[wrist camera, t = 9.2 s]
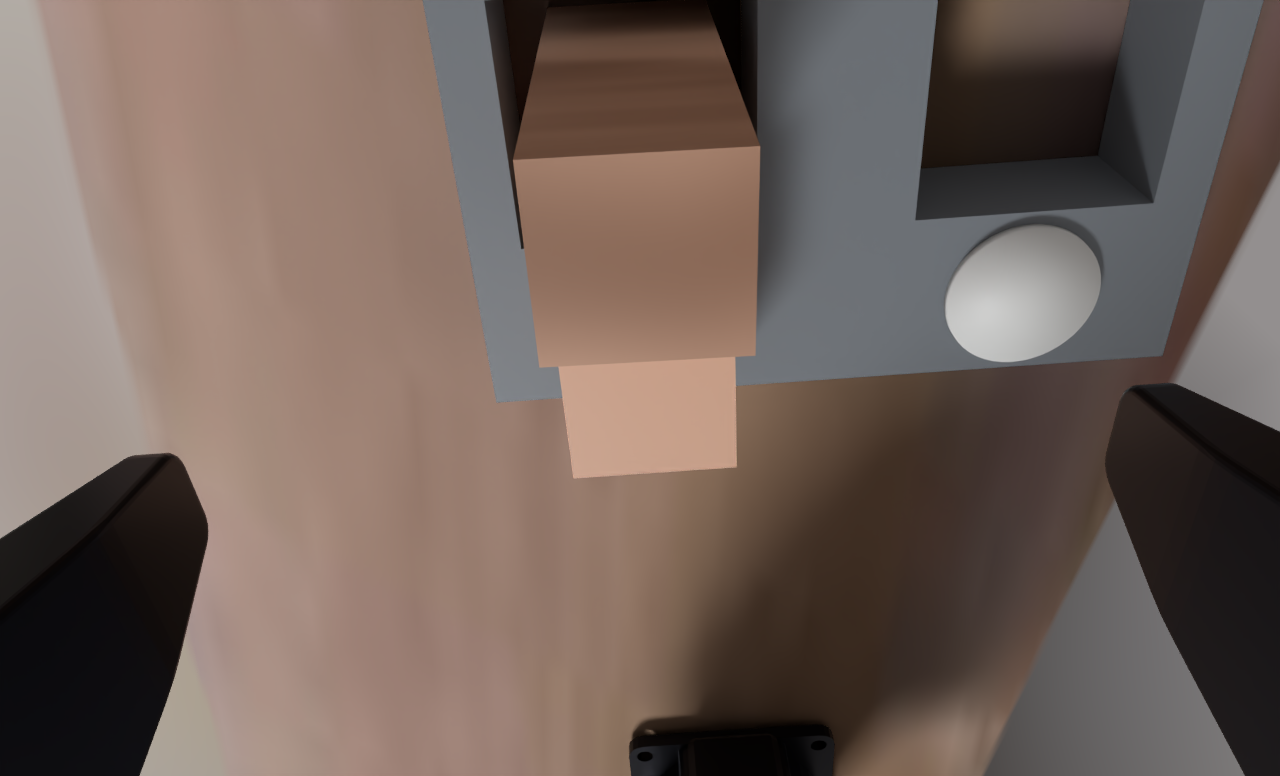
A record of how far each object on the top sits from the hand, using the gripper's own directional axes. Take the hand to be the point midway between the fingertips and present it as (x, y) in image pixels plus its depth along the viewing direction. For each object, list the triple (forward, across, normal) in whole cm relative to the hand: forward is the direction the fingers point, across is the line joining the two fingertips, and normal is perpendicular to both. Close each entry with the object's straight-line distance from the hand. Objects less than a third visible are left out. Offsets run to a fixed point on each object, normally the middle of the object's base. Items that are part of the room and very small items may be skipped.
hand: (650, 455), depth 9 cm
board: (+12, -4, +1) cm, 13 cm away
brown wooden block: (+12, 0, 0) cm, 12 cm away
